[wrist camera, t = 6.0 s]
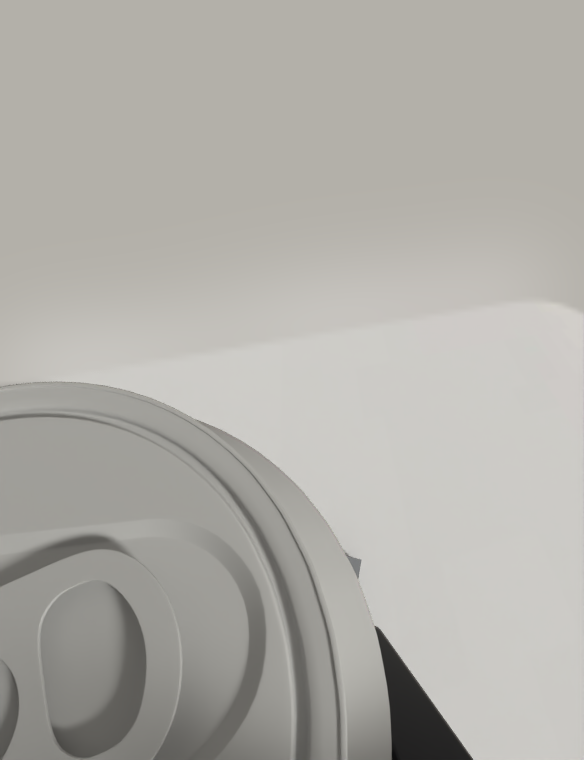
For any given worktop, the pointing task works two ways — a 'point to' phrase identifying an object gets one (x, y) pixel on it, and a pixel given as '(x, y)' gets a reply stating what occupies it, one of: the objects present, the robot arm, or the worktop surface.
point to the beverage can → (170, 594)
